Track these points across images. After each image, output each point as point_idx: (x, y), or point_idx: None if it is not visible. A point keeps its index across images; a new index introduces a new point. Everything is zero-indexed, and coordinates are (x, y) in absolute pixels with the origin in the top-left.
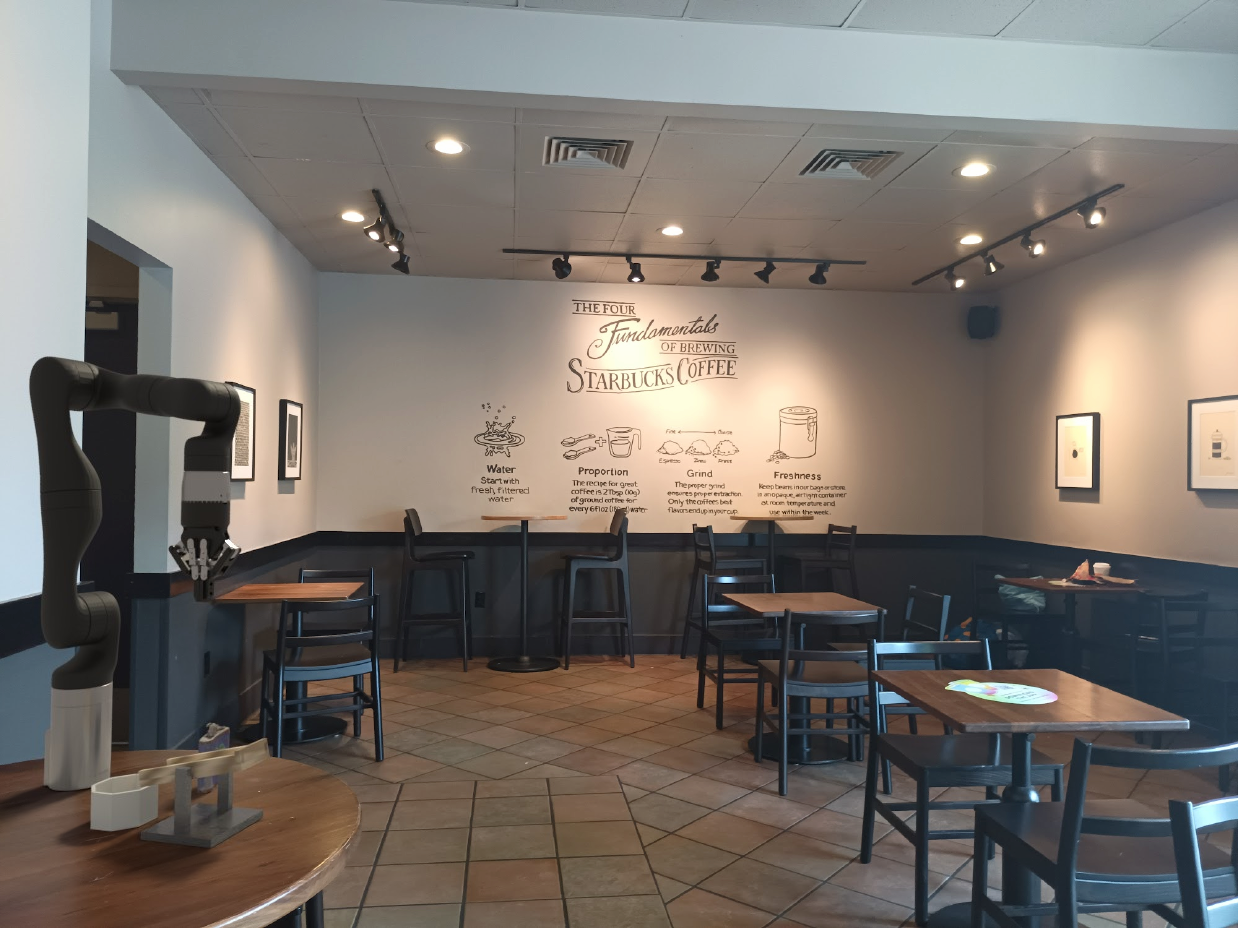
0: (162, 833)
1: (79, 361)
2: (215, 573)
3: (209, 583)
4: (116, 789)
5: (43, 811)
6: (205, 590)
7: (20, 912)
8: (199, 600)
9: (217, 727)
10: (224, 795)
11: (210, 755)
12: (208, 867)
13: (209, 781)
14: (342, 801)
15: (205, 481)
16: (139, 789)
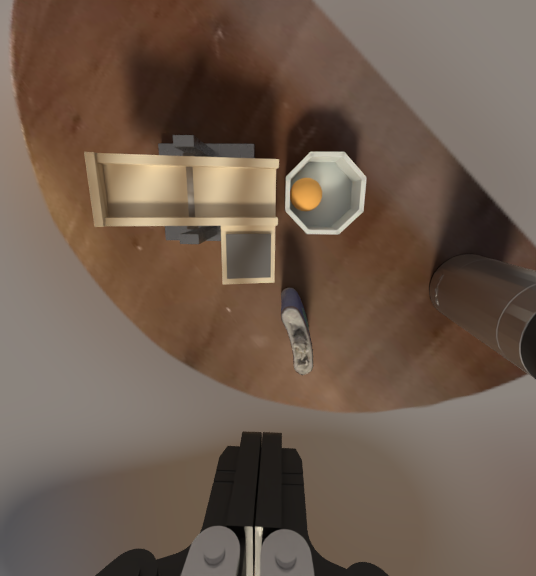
0: (225, 145)
1: None
2: (108, 573)
3: (206, 522)
4: (351, 212)
5: (435, 192)
6: (230, 480)
7: None
8: (260, 433)
9: (305, 360)
10: (202, 228)
11: (199, 217)
12: (126, 97)
13: (281, 296)
14: (119, 301)
15: None
16: (289, 179)
